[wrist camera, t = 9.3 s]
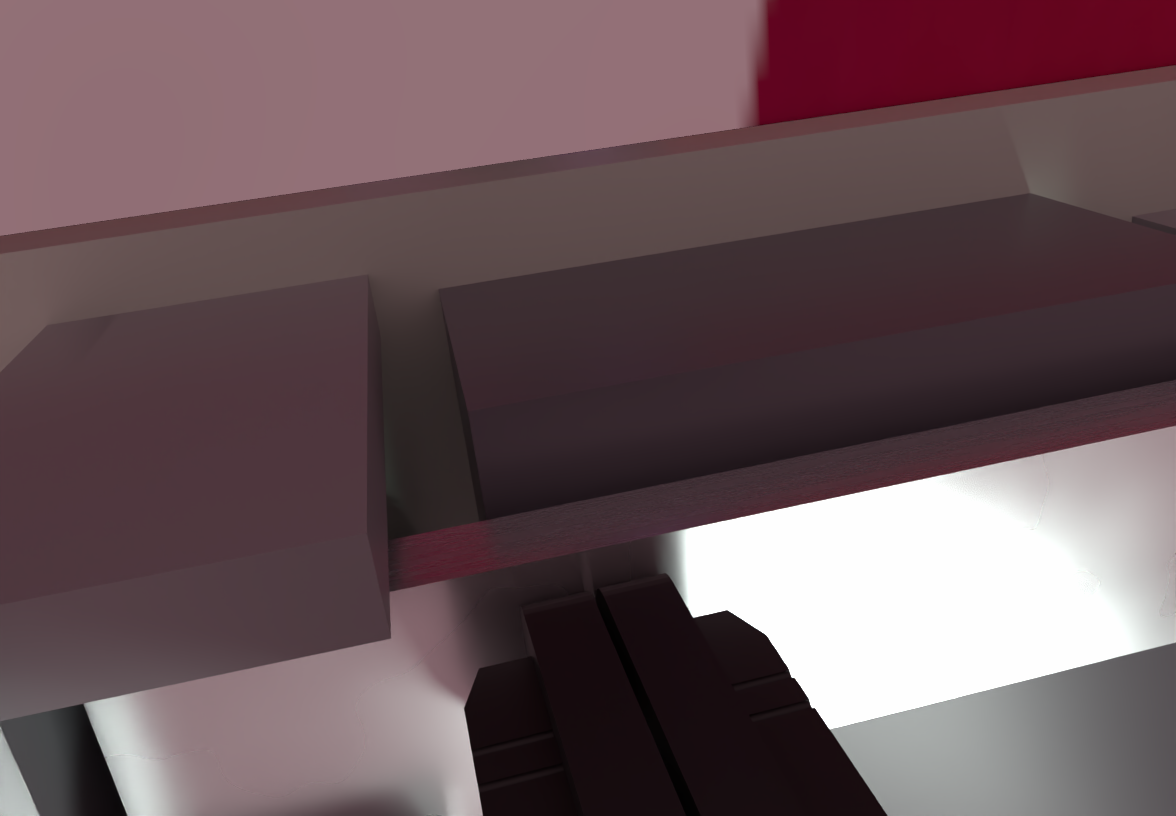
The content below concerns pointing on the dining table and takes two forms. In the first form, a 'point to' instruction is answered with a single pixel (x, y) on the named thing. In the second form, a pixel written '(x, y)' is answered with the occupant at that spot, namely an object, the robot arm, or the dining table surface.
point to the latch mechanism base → (567, 396)
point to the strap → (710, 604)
